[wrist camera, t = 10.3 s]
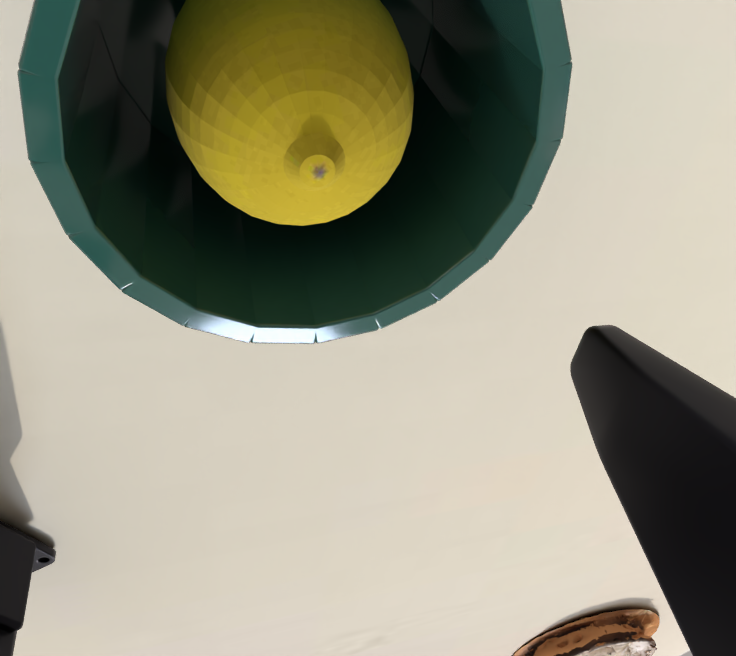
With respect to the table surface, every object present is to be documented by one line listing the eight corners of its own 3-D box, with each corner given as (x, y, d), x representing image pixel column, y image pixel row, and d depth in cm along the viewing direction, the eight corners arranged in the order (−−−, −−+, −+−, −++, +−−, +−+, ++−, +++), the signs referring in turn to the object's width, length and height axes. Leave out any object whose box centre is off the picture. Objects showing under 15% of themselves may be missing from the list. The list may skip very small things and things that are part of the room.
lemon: (319, 151, 20) (377, 314, 15) (141, 85, 18) (126, 249, 12) (403, -24, 18) (516, 93, 12) (205, -133, 15) (224, -52, 9)
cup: (214, 229, 22) (229, 402, 16) (-22, -82, 15) (-141, 28, 9) (485, 91, 21) (603, 225, 15) (364, -317, 14) (497, -356, 8)
